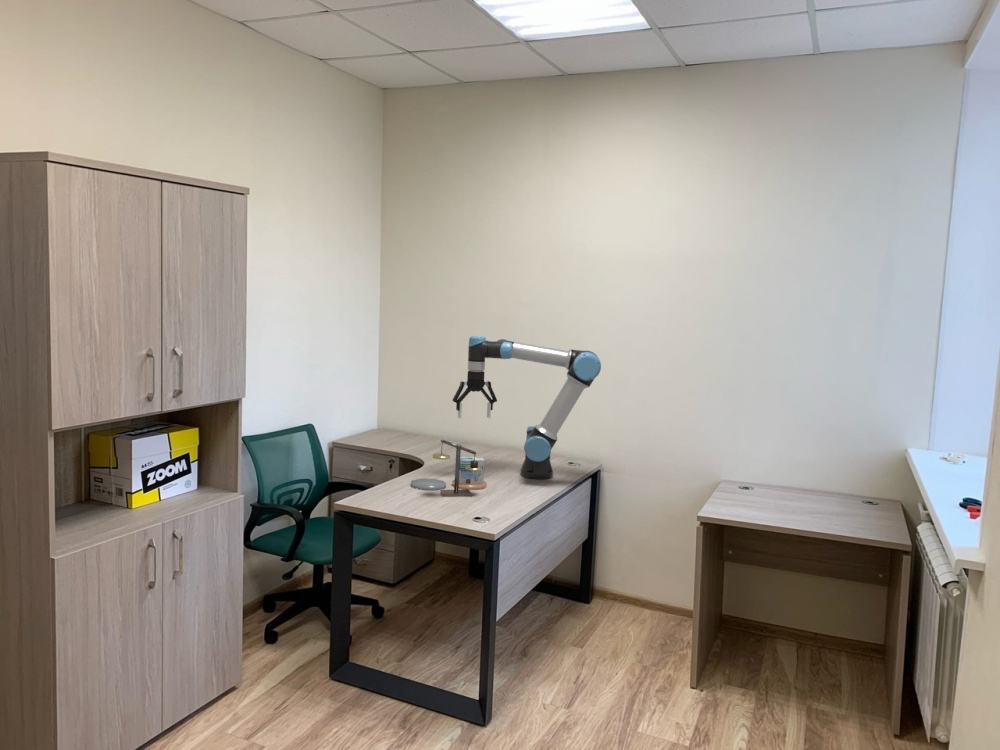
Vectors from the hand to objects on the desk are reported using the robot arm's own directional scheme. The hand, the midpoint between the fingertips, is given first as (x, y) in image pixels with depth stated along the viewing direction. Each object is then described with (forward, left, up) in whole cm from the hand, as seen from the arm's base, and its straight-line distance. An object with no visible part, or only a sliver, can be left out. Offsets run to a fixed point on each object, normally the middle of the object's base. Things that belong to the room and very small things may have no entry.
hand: (474, 417), depth 344 cm
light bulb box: (+4, +14, -26) cm, 30 cm away
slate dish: (+22, +14, -27) cm, 38 cm away
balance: (+13, +28, -27) cm, 41 cm away
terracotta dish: (+4, +14, -27) cm, 31 cm away
